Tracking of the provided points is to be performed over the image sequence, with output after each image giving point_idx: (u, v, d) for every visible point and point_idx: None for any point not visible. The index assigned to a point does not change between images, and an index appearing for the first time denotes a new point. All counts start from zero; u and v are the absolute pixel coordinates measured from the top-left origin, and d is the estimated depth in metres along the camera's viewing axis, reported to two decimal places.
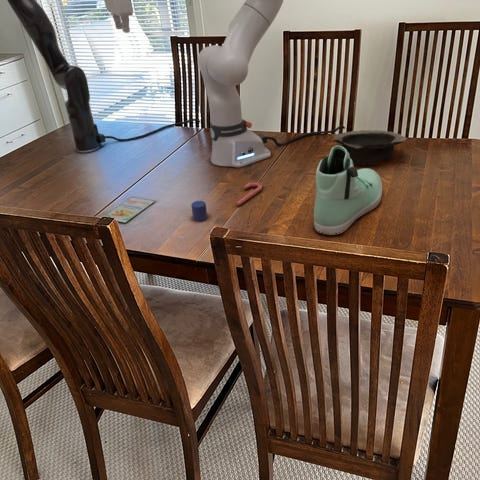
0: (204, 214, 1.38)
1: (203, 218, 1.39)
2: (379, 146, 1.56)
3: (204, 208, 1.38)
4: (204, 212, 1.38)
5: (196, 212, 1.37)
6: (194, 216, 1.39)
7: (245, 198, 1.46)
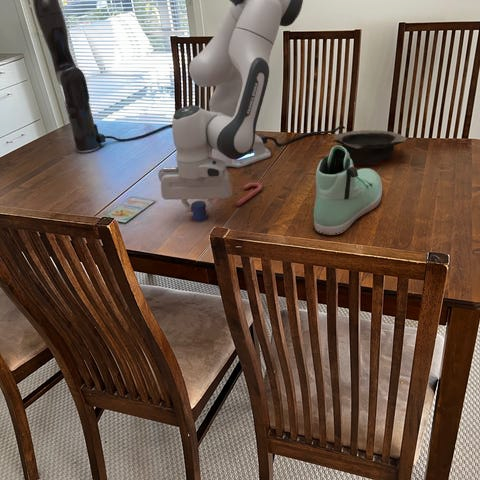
0: (204, 214, 1.38)
1: (203, 218, 1.39)
2: (379, 146, 1.56)
3: (204, 208, 1.38)
4: (204, 212, 1.38)
5: (196, 212, 1.37)
6: (194, 216, 1.39)
7: (245, 198, 1.46)
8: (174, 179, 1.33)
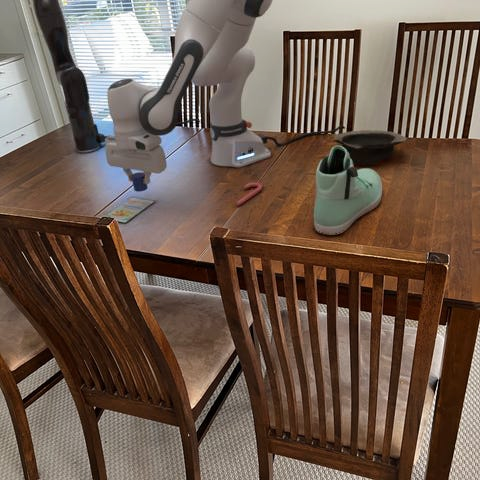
0: (141, 185, 1.44)
1: (140, 190, 1.45)
2: (379, 146, 1.56)
3: (141, 180, 1.43)
4: (141, 183, 1.44)
5: (133, 182, 1.44)
6: (133, 186, 1.45)
7: (245, 198, 1.46)
8: (114, 147, 1.41)
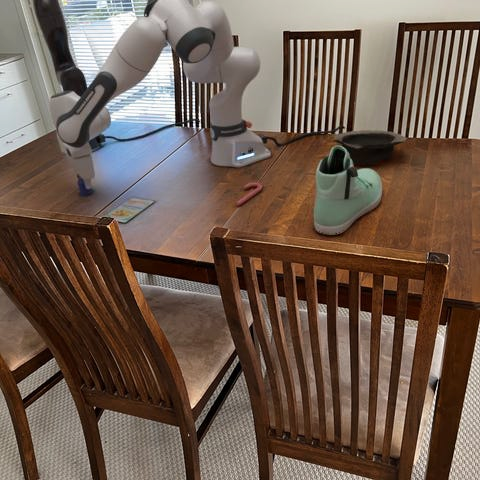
0: (83, 191, 1.58)
1: (82, 194, 1.59)
2: (379, 146, 1.56)
3: (82, 186, 1.57)
4: (82, 188, 1.58)
5: (78, 186, 1.59)
6: None
7: (245, 198, 1.46)
8: None
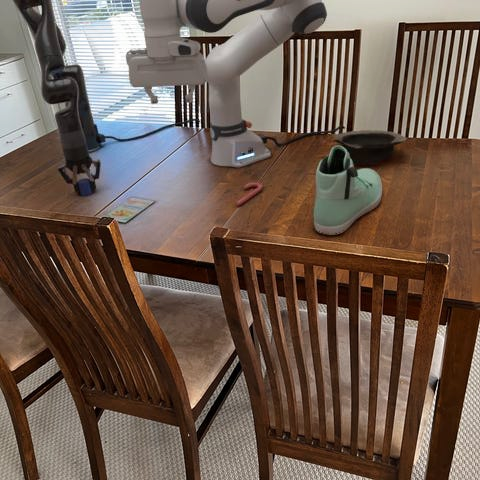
0: (83, 191, 1.58)
1: (82, 194, 1.59)
2: (379, 146, 1.56)
3: (82, 186, 1.57)
4: (82, 188, 1.58)
5: (78, 186, 1.59)
6: None
7: (245, 198, 1.46)
8: (142, 61, 1.20)
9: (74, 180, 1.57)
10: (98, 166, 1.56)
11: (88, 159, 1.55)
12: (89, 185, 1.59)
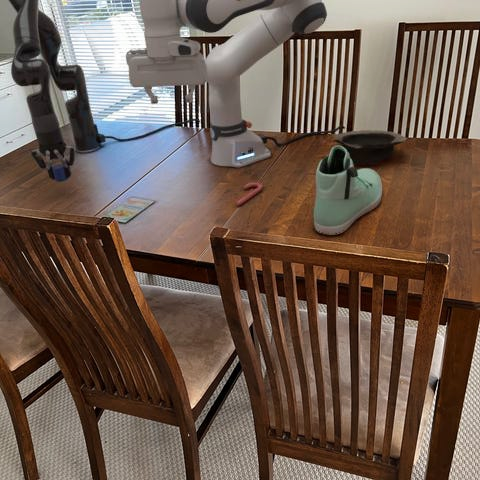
0: (57, 177, 1.55)
1: (56, 180, 1.56)
2: (379, 146, 1.56)
3: (56, 171, 1.54)
4: (56, 174, 1.55)
5: None
6: None
7: (245, 198, 1.46)
8: (142, 61, 1.20)
9: (48, 165, 1.54)
10: (72, 152, 1.52)
11: (61, 144, 1.51)
12: (63, 171, 1.55)
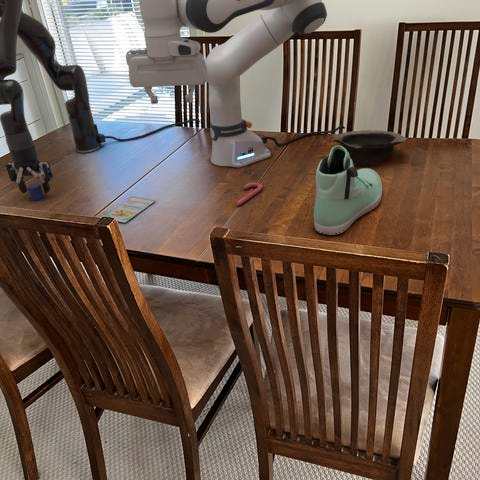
0: (31, 195, 1.58)
1: (31, 198, 1.59)
2: (379, 146, 1.56)
3: (30, 190, 1.57)
4: (30, 193, 1.58)
5: None
6: None
7: (245, 198, 1.46)
8: (142, 61, 1.20)
9: (18, 179, 1.56)
10: (44, 168, 1.53)
11: (34, 162, 1.52)
12: (38, 191, 1.58)
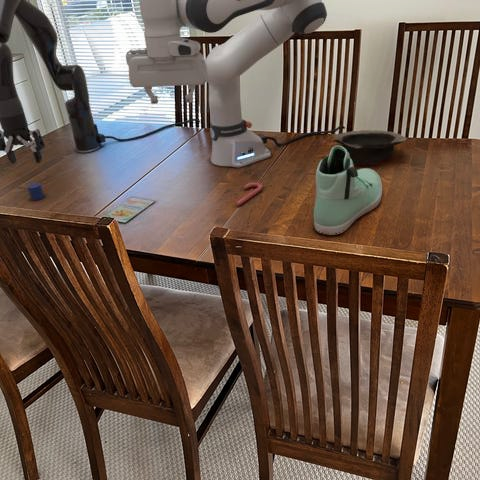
0: (31, 195, 1.58)
1: (31, 198, 1.59)
2: (379, 146, 1.56)
3: (30, 190, 1.57)
4: (30, 193, 1.58)
5: None
6: None
7: (245, 198, 1.46)
8: (142, 61, 1.20)
9: (7, 148, 1.51)
10: (35, 136, 1.47)
11: (24, 131, 1.47)
12: (38, 191, 1.58)
